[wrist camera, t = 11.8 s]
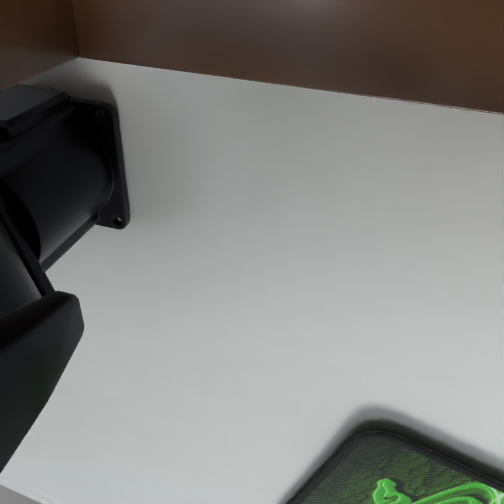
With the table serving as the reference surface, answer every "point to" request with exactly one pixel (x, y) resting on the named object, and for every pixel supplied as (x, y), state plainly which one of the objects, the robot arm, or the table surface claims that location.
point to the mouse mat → (396, 476)
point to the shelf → (276, 43)
